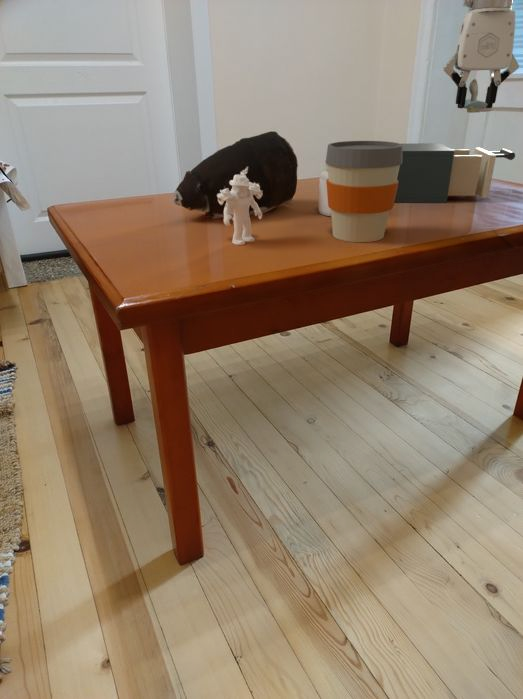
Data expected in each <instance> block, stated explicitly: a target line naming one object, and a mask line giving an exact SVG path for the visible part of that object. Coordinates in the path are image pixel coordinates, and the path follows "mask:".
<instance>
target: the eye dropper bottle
mask: <svg viewBox="0 0 523 699" xmlns="http://www.w3.org/2000/svg"><path fill="white" fill-rule="evenodd" d="M327 179H329V178H328V165H327V164H326V158H325V159H324V171H322V172H321V173H320V175H319V181H318V204H317V206H318V208H317V210H318V213H319V214H320V215H322V216H326V217H331V209H330V208H329V207H328V197H327V184H326V180H327Z"/></svg>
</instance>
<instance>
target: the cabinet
mask: <svg viewBox="0 0 523 699" xmlns="http://www.w3.org/2000/svg"><path fill="white" fill-rule="evenodd" d="M401 144H402V164H401V165H400V167H399V172H398V176H397V180H398V181H399V183H398V187H397V192H396V196H395V200H394V204H395V203H396V204H397V203H398V204H399V203H400V204H401V203H404V204H405V203H406V204H407V203H408V204H409V203H410V204H411V203H412V204H426V203H427V204H447V203H448V197H449V196H448V190H449V184H450V177H451V171H452V164H453V158H454V150H452V149H453V148H450V147H448V146H446V145H445V144H443V143H440V142H437V143H435V142H433V143H431V142H430V143H426V142H425V143H424V142H423V143H422V142H421V143H420V142H419V143H401Z"/></svg>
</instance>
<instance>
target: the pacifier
mask: <svg viewBox="0 0 523 699" xmlns="http://www.w3.org/2000/svg"><path fill="white" fill-rule="evenodd" d="M478 85H479V84H478V81H477V79H476V78H474V79H472V80H471V81H470V83H469V86H468V89H469V93H470V95H471V96H470V98H468V99H467V98H466V100H465V107H464V108H463V109H466V113H468V114H470V113H471V114H473V113H485V112H492V111H493V107H492V108H486V106H487V105H488V104H487V103H485V101H481V100H479V99H477V98H478V94H479V86H478Z"/></svg>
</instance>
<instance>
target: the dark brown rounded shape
mask: <svg viewBox="0 0 523 699" xmlns="http://www.w3.org/2000/svg"><path fill="white" fill-rule="evenodd" d="M247 167H248V169H247V170H248V171H247V173H246V174H245V175H246V177H247V178H248V179H249V182H251V183H254V182H255V183H256V184H258V183H259V184H258V185H259V186H260V191H262V193H263V194H262V197H261V198H260V199H258V198H257V197H256V196H258V195H256V196H255V195H253V198H254V200H255V202H256V203H257V205H258V207H259V209H260V211H261V212H262V215H263V214H265V213H267V212H269V211H271V210H273V209H275V208H277V207H280V206H282V205H285V204H289V203H291V202H292V201H293V200H294V196H295V195H296V192H297V186H298V167H299V164H298V157H297V155H296V153H295V151H294V148H293V147H292V145H291V144H290V142H289V141H288V140H287V139H286V138H284V137H283V136H281V134H279V133H278V131H272V130H271V131H268V132H264V133H260V134H257V135H254V136H250V137H244V138H243V137H242V138H240V139H239V140H237V141H235V142H234V143H232V144H231V145H227V146H225V147H223V148H221V149H218V150H216V152H214V153H212V154H211V155H209V156H207V157H206V158H205V159H203V160H202V161H201V162H199V163H198V164H197V165H196V166H195V167H193V168H192V169H191V170H187V171H185V173H184V176H183V178H182V181H180V183H179V184H178V186H177V187H176V189H175V191H174V192H173V197H172V200H173V202H174V204H175V205H176V206H179V207H183V208H185V209H186V210H188V211H190V212H191V211H200V212H203V213H205V217H206V216H207V217H211V218H212V219H213V220H218V219H222V218H224V207H225V204H226V202H227V201H224V203H223V204H222V205H220V204H219V202H218V197H217V194H219V193H221V192H220V190H221V191H222V190H223V189H225V188H229V191H231V189H232V185H230V184H229V182H230V180H233V178H234V175H241V172H242V171H243V170H245V169H246V168H247ZM219 200H220V199H219ZM230 215H231V214H230ZM231 216H232V217H234V216H233V215H231ZM249 216H255V212H254V209H253V208H252V206H251V205H250V206H249Z"/></svg>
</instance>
